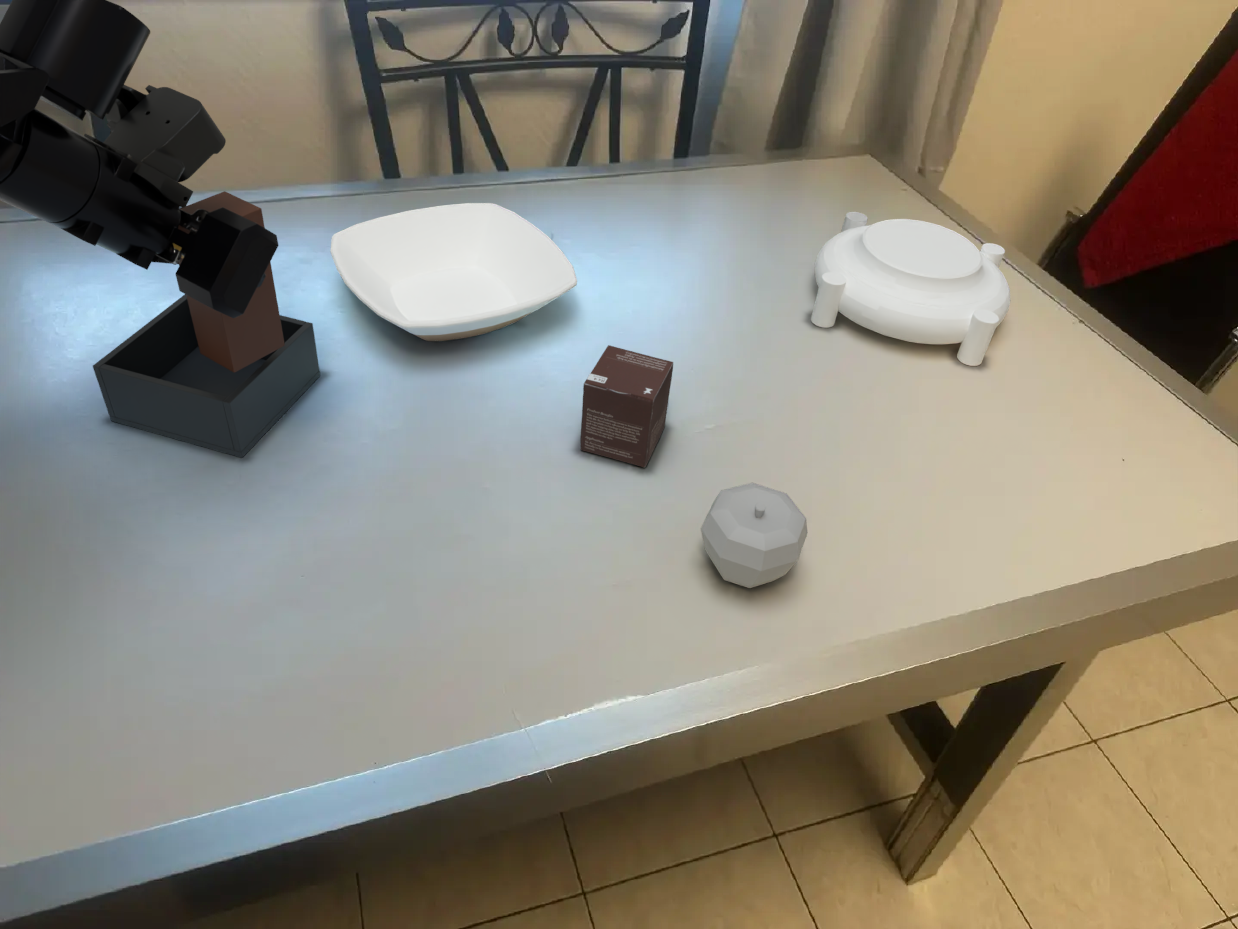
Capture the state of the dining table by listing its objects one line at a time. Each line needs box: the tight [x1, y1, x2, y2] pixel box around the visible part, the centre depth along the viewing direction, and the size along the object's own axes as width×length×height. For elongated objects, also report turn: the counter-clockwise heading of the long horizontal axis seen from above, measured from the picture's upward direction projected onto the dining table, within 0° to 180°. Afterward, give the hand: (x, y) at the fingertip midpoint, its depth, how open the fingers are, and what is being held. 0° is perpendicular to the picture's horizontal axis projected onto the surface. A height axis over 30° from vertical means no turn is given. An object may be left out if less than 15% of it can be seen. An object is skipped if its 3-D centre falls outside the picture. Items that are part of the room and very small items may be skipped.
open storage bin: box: [92, 294, 321, 459], centre depth 80 cm, size 12×12×6 cm
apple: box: [700, 482, 808, 589], centre depth 70 cm, size 8×8×7 cm
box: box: [579, 344, 674, 468], centre depth 80 cm, size 6×6×7 cm
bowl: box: [329, 202, 578, 342], centre depth 95 cm, size 22×22×5 cm
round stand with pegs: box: [810, 211, 1012, 367], centre depth 102 cm, size 24×24×7 cm
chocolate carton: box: [173, 191, 285, 373], centre depth 72 cm, size 5×4×12 cm
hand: (242, 270), depth 73 cm, fingers closed on chocolate carton, 4 cm apart
